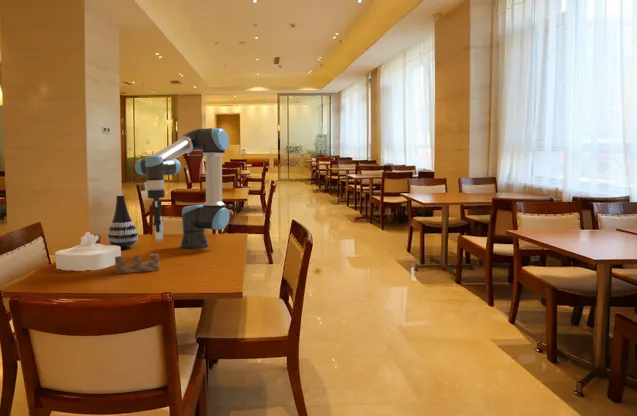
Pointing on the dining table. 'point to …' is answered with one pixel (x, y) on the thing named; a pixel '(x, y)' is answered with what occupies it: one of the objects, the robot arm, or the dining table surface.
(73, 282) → the dining table surface
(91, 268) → the tissue box
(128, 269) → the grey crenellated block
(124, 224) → the vase
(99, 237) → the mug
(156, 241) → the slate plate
